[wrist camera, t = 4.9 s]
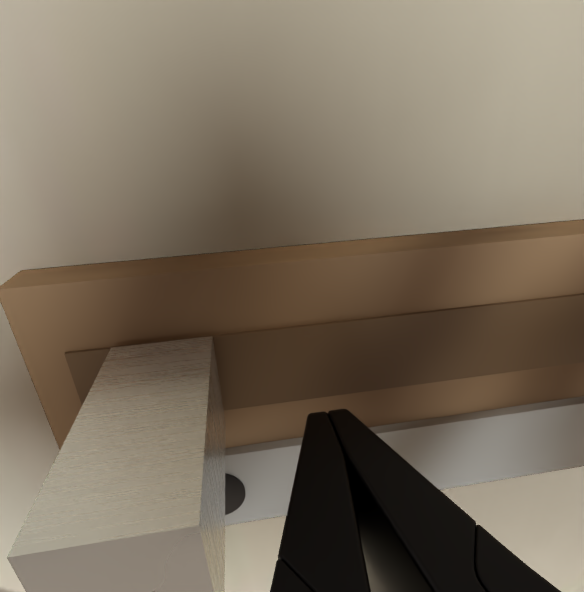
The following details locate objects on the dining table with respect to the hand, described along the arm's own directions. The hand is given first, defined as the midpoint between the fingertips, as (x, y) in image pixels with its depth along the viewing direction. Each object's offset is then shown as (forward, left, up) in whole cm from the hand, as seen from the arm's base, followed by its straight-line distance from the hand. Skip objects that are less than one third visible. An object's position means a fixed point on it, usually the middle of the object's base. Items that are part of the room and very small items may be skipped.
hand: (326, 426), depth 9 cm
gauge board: (-3, +2, -4) cm, 5 cm away
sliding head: (+4, +2, -2) cm, 5 cm away
